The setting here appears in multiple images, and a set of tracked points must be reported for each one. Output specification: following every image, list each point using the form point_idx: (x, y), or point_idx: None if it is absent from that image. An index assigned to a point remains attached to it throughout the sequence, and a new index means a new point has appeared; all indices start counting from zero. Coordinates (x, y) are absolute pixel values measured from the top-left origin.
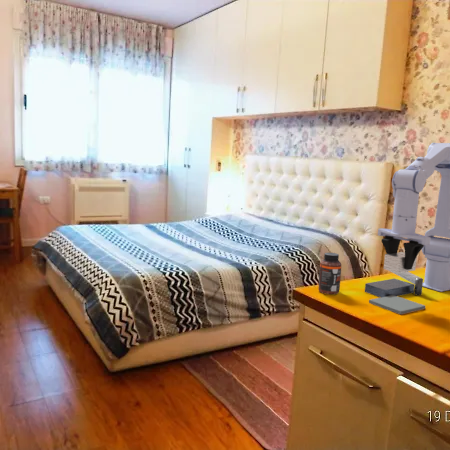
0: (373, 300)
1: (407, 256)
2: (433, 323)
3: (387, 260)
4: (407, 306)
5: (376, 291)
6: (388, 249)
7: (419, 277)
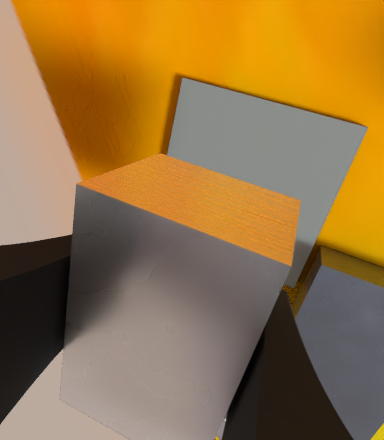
0: (343, 136)
1: (25, 249)
2: (76, 83)
3: (254, 219)
4: None
5: (374, 273)
6: (272, 388)
7: (220, 437)
